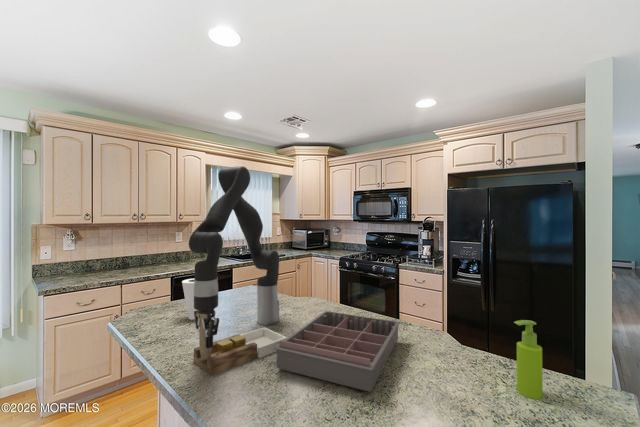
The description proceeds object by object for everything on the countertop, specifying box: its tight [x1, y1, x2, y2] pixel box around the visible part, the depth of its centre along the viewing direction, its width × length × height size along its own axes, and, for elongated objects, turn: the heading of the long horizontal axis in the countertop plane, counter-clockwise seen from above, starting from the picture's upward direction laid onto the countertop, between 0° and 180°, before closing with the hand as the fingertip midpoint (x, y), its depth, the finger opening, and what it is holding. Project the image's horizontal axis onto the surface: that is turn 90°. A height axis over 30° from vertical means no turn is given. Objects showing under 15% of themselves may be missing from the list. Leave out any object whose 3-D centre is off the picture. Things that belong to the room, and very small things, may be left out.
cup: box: [181, 277, 197, 321], centre depth 145 cm, size 11×11×18 cm
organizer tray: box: [274, 310, 401, 393], centre depth 107 cm, size 32×40×10 cm
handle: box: [196, 310, 216, 359], centre depth 99 cm, size 5×6×15 cm
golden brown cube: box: [230, 334, 246, 349], centre depth 107 cm, size 4×4×4 cm
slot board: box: [192, 334, 258, 377], centre depth 104 cm, size 17×13×4 cm
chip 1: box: [215, 338, 233, 355], centre depth 103 cm, size 4×4×4 cm
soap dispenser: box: [513, 319, 543, 400], centre depth 84 cm, size 6×7×20 cm
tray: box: [240, 326, 288, 359], centre depth 114 cm, size 12×15×4 cm
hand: (206, 345), depth 99 cm, fingers closed on handle, 4 cm apart
